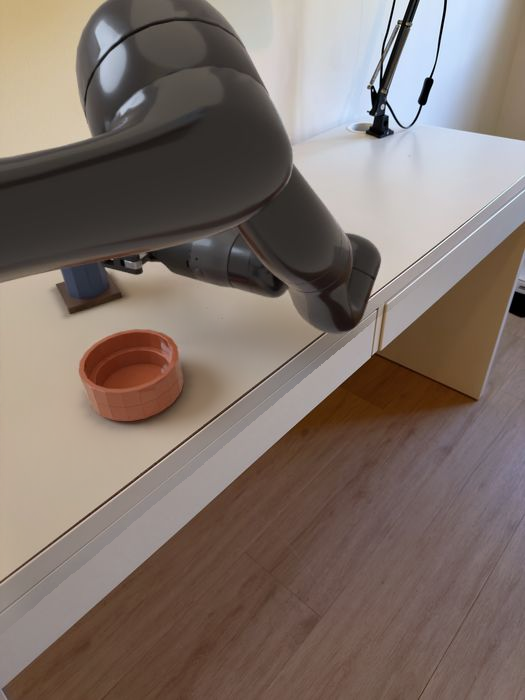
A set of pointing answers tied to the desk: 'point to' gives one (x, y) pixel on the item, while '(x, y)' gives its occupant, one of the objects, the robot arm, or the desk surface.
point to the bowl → (132, 374)
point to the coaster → (81, 304)
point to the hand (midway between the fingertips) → (110, 225)
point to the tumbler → (85, 280)
